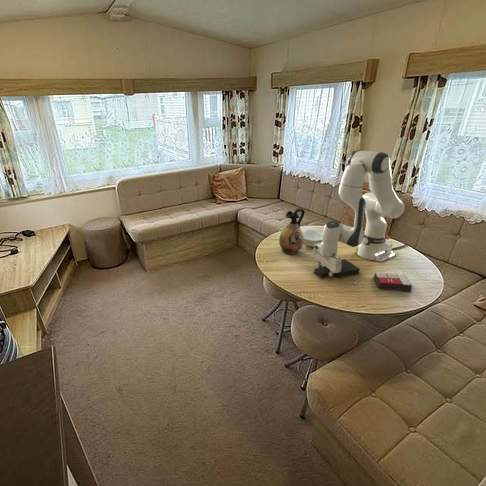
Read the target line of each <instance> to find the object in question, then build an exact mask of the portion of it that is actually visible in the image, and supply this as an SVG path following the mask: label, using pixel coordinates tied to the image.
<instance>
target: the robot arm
mask: <svg viewBox="0 0 486 486" xmlns="http://www.w3.org/2000/svg"><path fill="white" fill-rule="evenodd" d="M391 162H392V159H391V157H390V155H389V154H388V153H386V152H382V151H381V152H380V151H376V150H361V149H358V150H352V151H351V152H350V153H349V154H348V155H347V158H346V167H345V169H344V171H343V174H342V176H341V179H340V181H339V186H338V196H339V198H340V200H341V201H343V202H344V203H345V204H347V206H349V207H351V209H352V210H353V212H354V220H353V221H354V222H353V226H350V225H346V224H344V223H340V222H338V221H336V220H329V221H327V222H325V224H324V226H323V230H322V242H321V243H319V244H315V245H314V247H313V251H312V257H313V259H315V260H316V263H317V268H320V267H325V266H326V267H327V268H328V269H330V273H328V275H329V277H330V278H331V277H333V276H334V275H333V273H339V272H340V271H341V260H342V259H341V258H340V256H338V255H337V254H338V249H339V243H342V244H345V245H347V246H349V247H352V248H355V247H357V251H356V254H357V255H358V256H359V257H361V258H362V259H365V260H370V261H375V262H380V263H381V262H385V261H387V260H389V259H391V258H394V257H396V254H395V252H394V250H397V249H400V248H405V247H406V246H407V247H409V244H408V243H405V244H403V245H399V246H396V247H393V244H392V243H391V242H388V241H386V240H390V238H391V237H390V236H389V235H386V232H387V228H388V224H387V221H386V220H385V218H390V219H398V218H400V217H401V216H402V215H403V214H404V212H405V203H403V201H402V200H401V199H400V198H399V197H398V196H397V194H396V192H395V190H394V187H393V178H392V167H391V164H392V163H391ZM366 174H367V176H368V189H369V191H368V192H366V193H364V194H363V186H364V182H365V175H366ZM365 219H366V220H365ZM365 221H366V222H365ZM332 275H333V276H332Z"/></svg>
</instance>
